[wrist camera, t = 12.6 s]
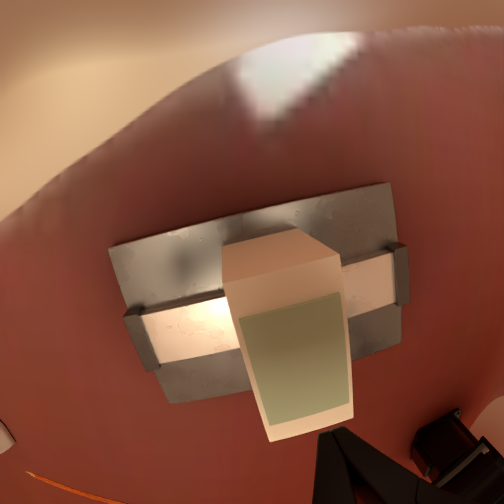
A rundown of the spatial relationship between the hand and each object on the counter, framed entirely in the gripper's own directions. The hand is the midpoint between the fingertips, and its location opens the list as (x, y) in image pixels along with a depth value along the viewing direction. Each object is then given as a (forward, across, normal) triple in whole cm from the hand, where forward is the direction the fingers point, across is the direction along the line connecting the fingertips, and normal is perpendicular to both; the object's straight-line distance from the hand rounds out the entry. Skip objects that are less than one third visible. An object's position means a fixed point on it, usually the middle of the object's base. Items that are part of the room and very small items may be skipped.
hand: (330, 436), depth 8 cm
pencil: (+12, +29, +22) cm, 38 cm away
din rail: (+12, 0, 0) cm, 12 cm away
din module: (+11, 0, 0) cm, 11 cm away
